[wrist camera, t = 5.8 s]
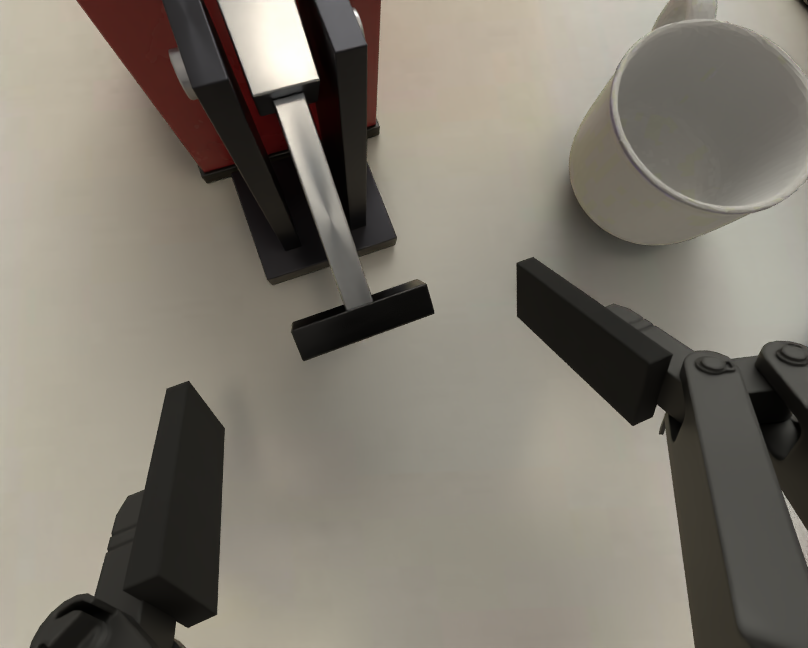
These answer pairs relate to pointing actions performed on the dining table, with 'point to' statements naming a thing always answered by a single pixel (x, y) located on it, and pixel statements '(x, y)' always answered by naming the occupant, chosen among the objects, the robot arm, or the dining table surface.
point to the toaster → (152, 69)
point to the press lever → (313, 173)
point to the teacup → (692, 130)
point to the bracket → (278, 181)
